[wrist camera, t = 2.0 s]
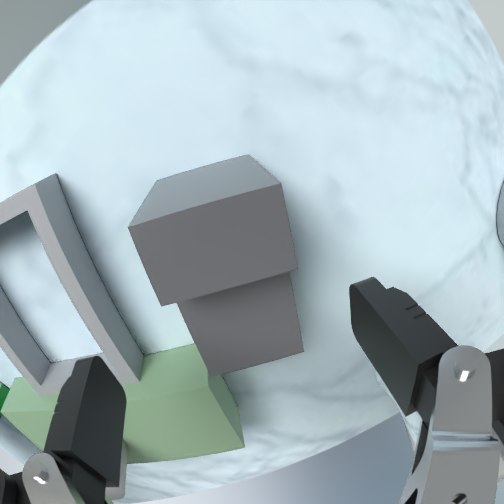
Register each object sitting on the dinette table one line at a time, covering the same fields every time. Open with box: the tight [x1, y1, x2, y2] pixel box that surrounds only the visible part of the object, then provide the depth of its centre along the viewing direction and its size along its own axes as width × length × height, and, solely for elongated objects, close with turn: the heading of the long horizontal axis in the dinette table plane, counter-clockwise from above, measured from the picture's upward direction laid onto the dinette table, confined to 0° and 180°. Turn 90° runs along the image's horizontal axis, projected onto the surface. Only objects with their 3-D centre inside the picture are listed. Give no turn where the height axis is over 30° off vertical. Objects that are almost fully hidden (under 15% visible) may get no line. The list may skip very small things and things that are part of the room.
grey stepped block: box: [128, 155, 304, 377], centre depth 14 cm, size 9×5×7 cm, turn 13°
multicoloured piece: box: [0, 173, 245, 500], centre depth 15 cm, size 18×21×8 cm
